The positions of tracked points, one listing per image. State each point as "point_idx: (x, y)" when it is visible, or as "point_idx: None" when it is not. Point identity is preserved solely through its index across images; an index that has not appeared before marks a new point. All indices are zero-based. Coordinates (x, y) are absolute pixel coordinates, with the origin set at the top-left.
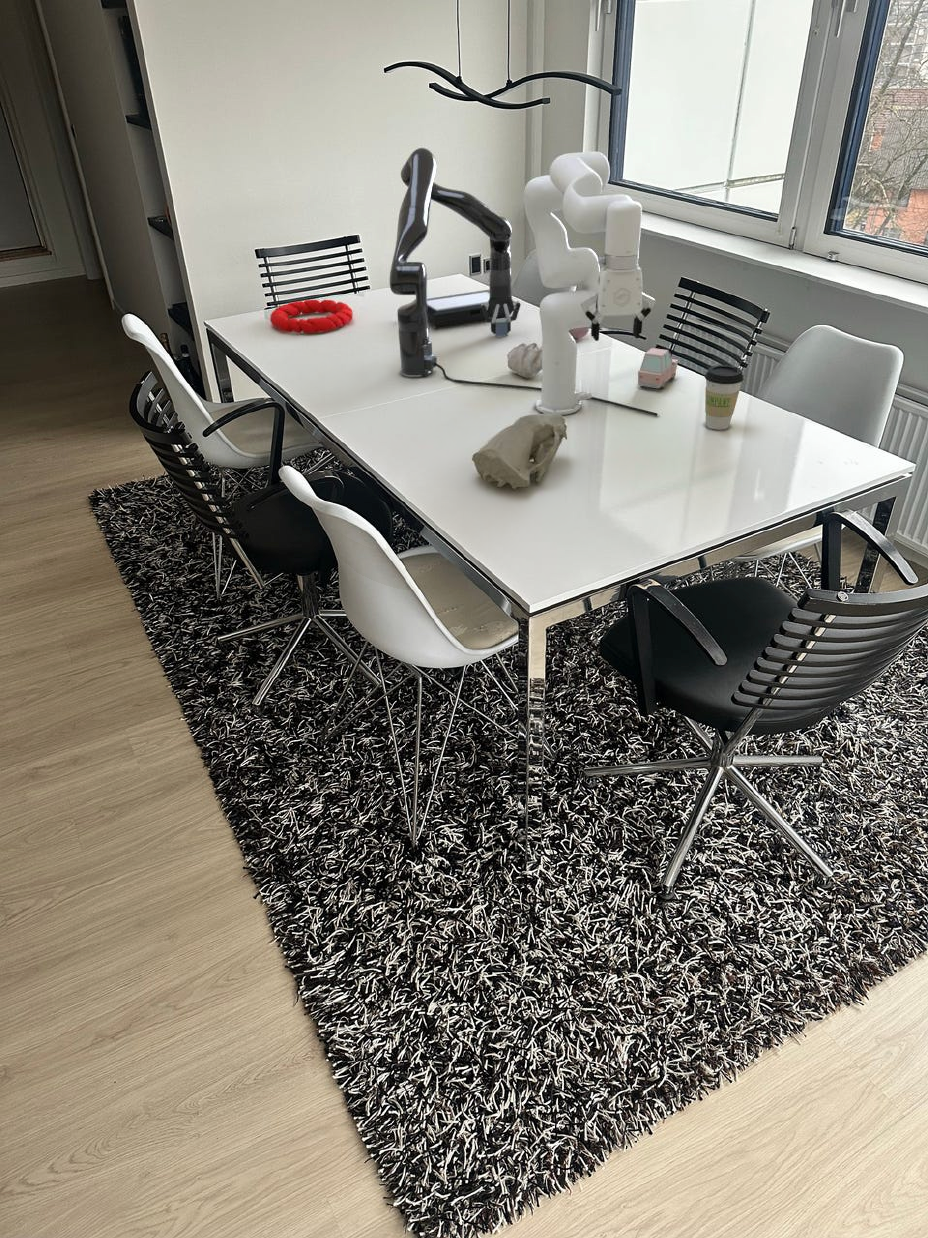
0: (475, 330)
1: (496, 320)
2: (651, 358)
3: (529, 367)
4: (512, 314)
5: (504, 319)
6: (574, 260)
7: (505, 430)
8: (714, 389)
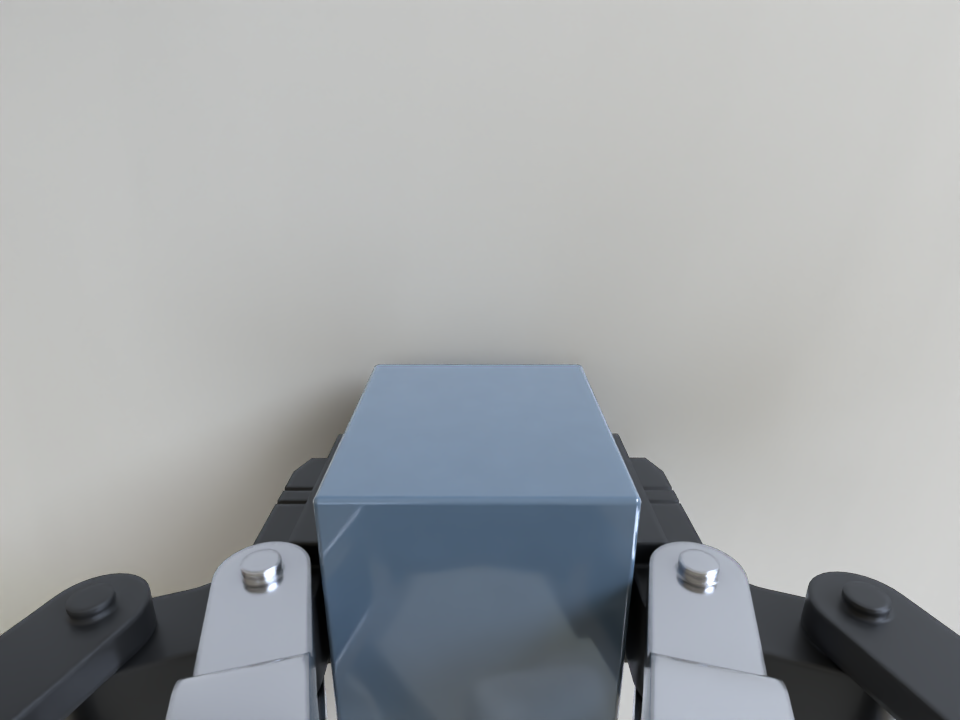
0: (23, 4)
1: (369, 638)
2: None
3: None
4: (871, 670)
5: (584, 602)
6: None
7: None
8: None
